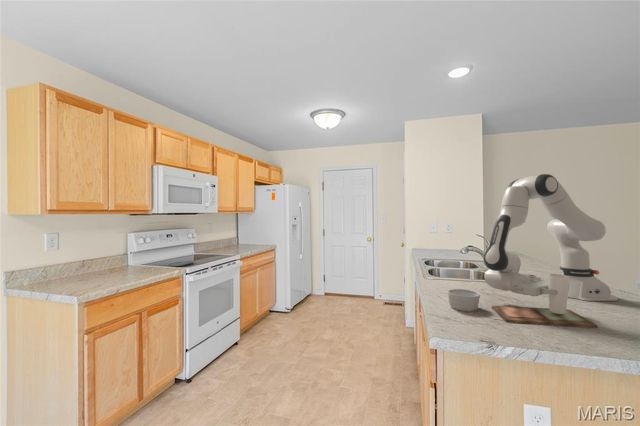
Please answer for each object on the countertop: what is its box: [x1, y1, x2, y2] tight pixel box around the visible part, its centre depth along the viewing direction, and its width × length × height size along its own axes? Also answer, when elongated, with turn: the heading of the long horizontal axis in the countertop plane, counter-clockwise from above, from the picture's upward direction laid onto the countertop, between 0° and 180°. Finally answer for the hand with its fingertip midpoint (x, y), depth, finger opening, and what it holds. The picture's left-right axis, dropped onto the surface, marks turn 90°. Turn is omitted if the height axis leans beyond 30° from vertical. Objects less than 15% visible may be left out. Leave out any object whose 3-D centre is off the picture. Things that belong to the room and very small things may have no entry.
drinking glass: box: [547, 273, 569, 314], centre depth 120 cm, size 7×7×15 cm
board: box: [491, 305, 598, 329], centre depth 122 cm, size 30×18×1 cm, turn 76°
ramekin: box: [447, 288, 481, 312], centre depth 136 cm, size 13×13×7 cm
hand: (561, 291), depth 120 cm, fingers closed on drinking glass, 6 cm apart
